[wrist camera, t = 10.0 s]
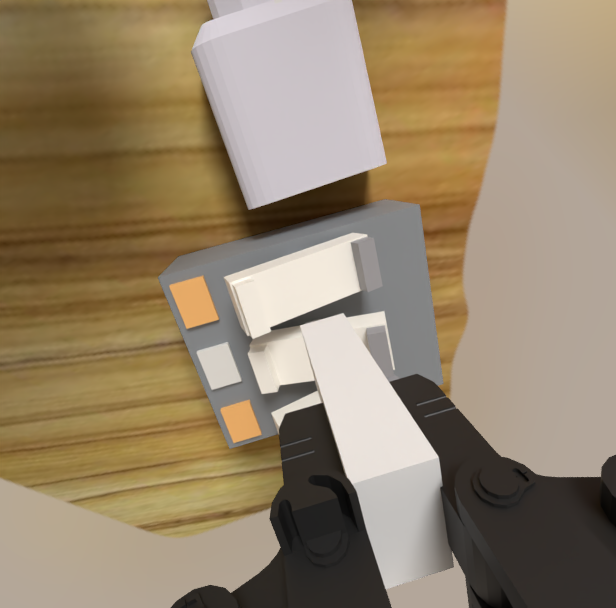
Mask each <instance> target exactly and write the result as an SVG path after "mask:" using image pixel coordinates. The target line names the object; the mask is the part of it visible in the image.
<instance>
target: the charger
mask: <svg viewBox="0 0 616 608" xmlns="http://www.w3.org/2000/svg"><path fill="white" fill-rule="evenodd" d="M207 1H208V4H209V7H210V10H211V13H212V16H213V20H210V21H208V22H206V23H204V24H203V25H201V28H200V30H199V33H198V36H197V38H196V41H195V43H194V46H193V48H192V51H191V53H192V56H193V59H194V62H195V64H196V67H197V70H198V73H199V75H200V78H201V81H202V84H203V86H204V89H205V92H206V95H207V97H208V100H209V103H210V106H211V108H212V111H213V114H214V116H215V119H216V122H217V125H218V127H219V130H220V133H221V136H222V138H223V141H224V144H225V147H226V149H227V152H228V155H229V158H230V160H231V163H232V166H233V169H234V171H235V174H236V177H237V180H238V182H239V185H240V188H241V191H242V193H243V196H244V199H245V202H246V204H247V207H248V210H250V209H254V208H257V207H260V206H263V205H267V204H270V203H273V202H276V201H279V200H282V199H284V198H287V197H290V196H293V195H296V194H299V193H302V192H305V191H308V190H311V189H314V188H317V187H320V186H323V185H326V184H329V183H332V182H335V181H338V180H341V179H344V178H347V177H350V176H352V175H355V174H358V173H361V172H364V171H367V170H370V169H373V168H376V167H379V166H381V165H384V164H386V163H387V162H386V157H385V153H384V148H383V143H382V139H381V134H380V129H379V125H378V120H377V115H376V111H375V106H374V101H373V97H372V92H371V88H370V83H369V78H368V74H367V69H366V64H365V60H364V55H363V50H362V46H361V41H360V36H359V32H358V27H357V22H356V18H355V13H354V9H353V4H352V0H207Z"/></svg>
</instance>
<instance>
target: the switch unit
mask: <svg viewBox="0 0 616 608" xmlns="http://www.w3.org/2000/svg"><path fill="white" fill-rule="evenodd" d="M350 233H360V234H367V236H368V237H371V238H374V241H375V247H376V252H377V258H378V263H379V269H380V274H381V279H382V285H383V286H382V287H380V288H377V289H375V290H372V291H370V292H366V291H363V290H362V291H359V292H357V293H354V294H352V295H349V296H347V297H344V298H342V299H339V300H337V301H334V302H332V303H329V304H327V305H324V306H322V307H319V308H317V309H314V310H312V311H310V312H307V313H305V314H302V315H300V316H297V317H295V318H292V319H290V320H287V321H285V322H282V323H280V324H277V325H275V326H272V327H270V329H271V330H277V329H283V328H289V327H294V326H300V325H303V324H307V323H310V322H314V321H317V320H321V319H325V318H328V317H332V316H335V315H339V314H342V313H344V315H345V316H346V318H347V317H353V316H359V315H364V314H370V313H376V312H382V311H384V312H385V317H386V323H387V328H388V333H389V339H390V344H391V349H392V355H393V361H394V367H395V370H393V372H394V374H395V375H396V376H398V377H399V378H404V377H407V376H411V375H414V374H419V375H421V376H423V377H425V378H427V379H429V380H431V381H433V382H435V384H436V385H437V386H438V385H441V384H443V377H442V370H441V362H440V355H439V347H438V340H437V332H436V325H435V317H434V310H433V302H432V295H431V287H430V280H429V272H428V265H427V257H426V250H425V242H424V235H423V227H422V220H421V212H420V205H419V204H412V203H406V202H400V201H393V200H387V199H384V200H381V201H377V202H374V203H370V204H366V205H363V206H359V207H356V208H352V209H348V210H345V211H341V212H337V213H334V214H330V215H327V216H323V217H319V218H316V219H312V220H309V221H305V222H301V223H298V224H294V225H290V226H287V227H283V228H280V229H276V230H272V231H269V232H265V233H262V234H258V235H254V236H251V237H247V238H243V239H240V240H236V241H233V242H229V243H225V244H222V245H218V246H215V247H211V248H207V249H204V250H200V251H196V252H193V253H189V254H186V255H182V256H178V257H177V258H176V259H175V260H174V261H173V263H172V264H171V265H170V266H169V267H168V268H167V269H166V270H165V271H164V272H163V273H162V274H161V275H160V276H159V277H158V279H159V282H160V284H161V286H162V289H163V291H164V293H165V296H166V298H167V301H168V303H169V305H170V308H171V310H172V313H173V315H174V317H175V320H176V322H177V324H178V327H179V329H180V332H181V334H182V336H183V339H184V341H185V343H186V346H187V348H188V351H189V353H190V355H191V358H192V360H193V363H194V365H195V367H196V370H197V372H198V374H199V377H200V379H201V382H202V384H203V386H204V389H205V391H206V393H207V396H208V398H209V401H210V403H211V405H212V408H213V410H214V413H215V415H216V417H217V420H218V422H219V424H220V427H221V429H222V432H223V434H224V436H225V439H226V441H227V443H228V446H229V448H230V449H231V448H234V447H238V446H241V445H244V444H247V443H251V442H254V441H257V440H261V439H264V438H267V437H270V436H274V435H277V434H278V431H277V428H276V425H275V423H274V420H273V417H272V414H271V413H272V412H274V411H276V410H278V409H280V408H282V407H284V406H286V405H288V404H291V403H293V402H295V401H297V400H299V399H301V398H303V397H305V396H307V395H309V394H311V393H313V392H316V391H318V390H317V387H316V383H315V381H308V382H301V383H293V384H286V385H280V386H279V389H278V392H273V393H266V394H262V393H261V390H260V388H259V385H258V382H257V379H256V376H255V373H254V371H253V368H252V365H251V362H250V359H249V356H248V352H249V350H250V346H249V345H250V344H251V342H252V340H253V339H252V337H251V336H247V335H246V333H245V332H244V330H243V329H242V328H241V326H240V323H239V320H238V317H237V314H236V311H235V308H234V306H233V303H232V300H231V297H230V294H229V291H228V288H227V286H226V283H225V280H224V277H225V276H228V275H231V274H234V273H237V272H240V271H243V270H245V269H248V268H251V267H254V266H257V265H260V264H263V263H266V262H269V261H272V260H275V259H277V258H280V257H283V256H286V255H289V254H292V253H295V252H298V251H301V250H304V249H306V248H309V247H312V246H315V245H318V244H321V243H324V242H327V241H330V240H333V239H336V238H338V237H341V236H344V235H347V234H350Z"/></svg>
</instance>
